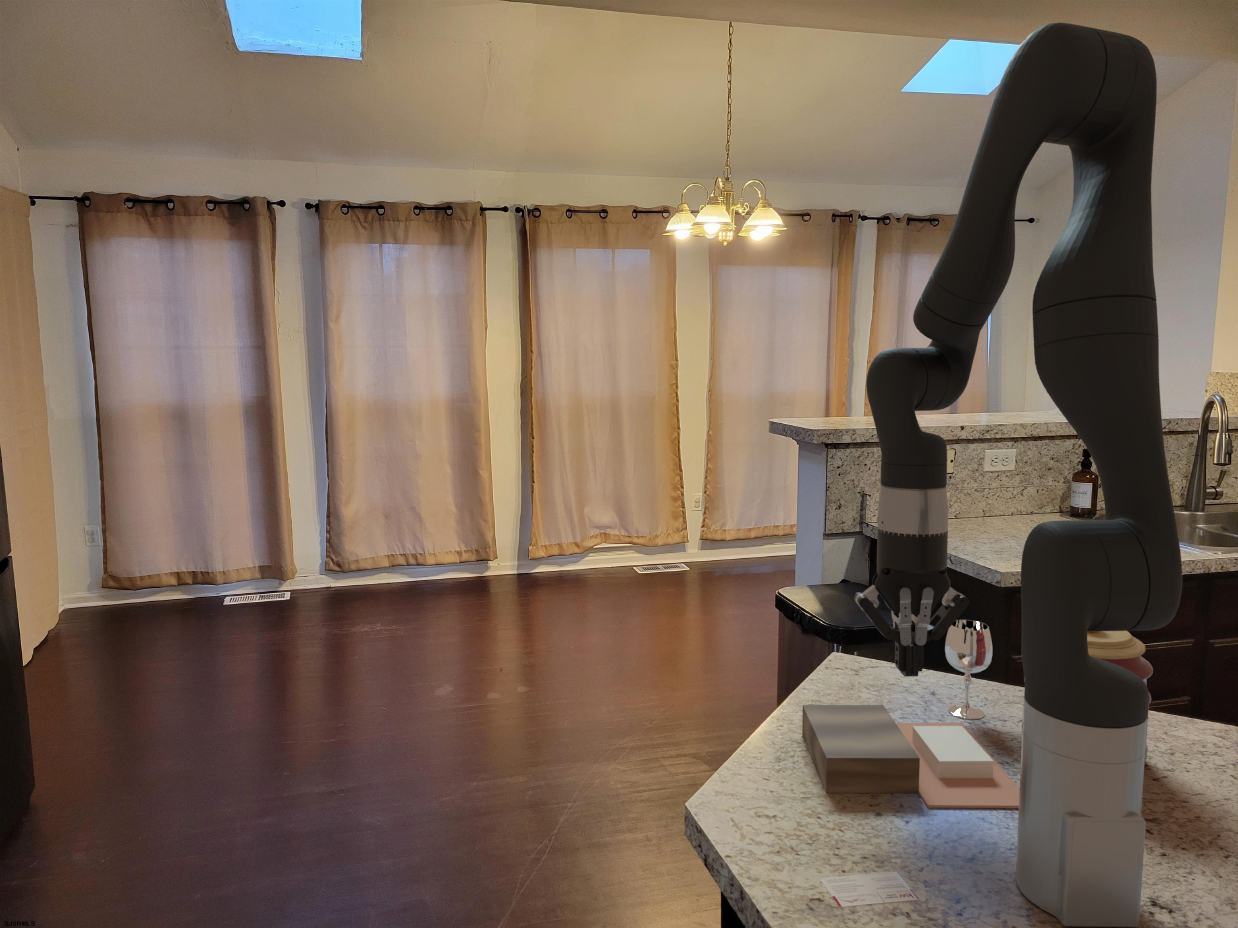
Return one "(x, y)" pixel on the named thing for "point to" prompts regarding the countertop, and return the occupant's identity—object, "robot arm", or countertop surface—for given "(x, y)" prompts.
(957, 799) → the mat
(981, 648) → the wineglass
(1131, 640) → the canister
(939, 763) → the pale grey rectangular block
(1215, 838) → the countertop surface
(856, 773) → the block
